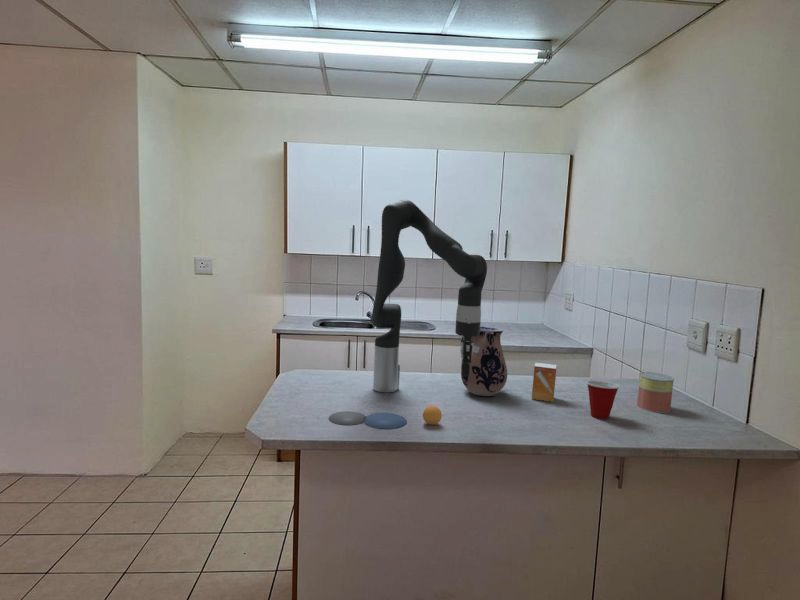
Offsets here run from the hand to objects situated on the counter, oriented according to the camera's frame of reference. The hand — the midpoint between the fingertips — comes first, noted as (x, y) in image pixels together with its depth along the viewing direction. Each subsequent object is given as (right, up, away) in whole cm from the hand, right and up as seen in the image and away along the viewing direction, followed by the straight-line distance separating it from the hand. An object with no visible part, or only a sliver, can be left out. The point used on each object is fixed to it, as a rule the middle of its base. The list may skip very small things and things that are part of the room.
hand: (465, 372), depth 161 cm
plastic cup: (+49, -18, +18) cm, 55 cm away
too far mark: (-37, -15, +5) cm, 40 cm away
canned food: (+74, -17, +30) cm, 81 cm away
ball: (-10, -14, +2) cm, 17 cm away
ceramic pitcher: (+11, -13, +40) cm, 44 cm away
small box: (+34, -15, +35) cm, 51 cm away
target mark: (-25, -16, +4) cm, 30 cm away
